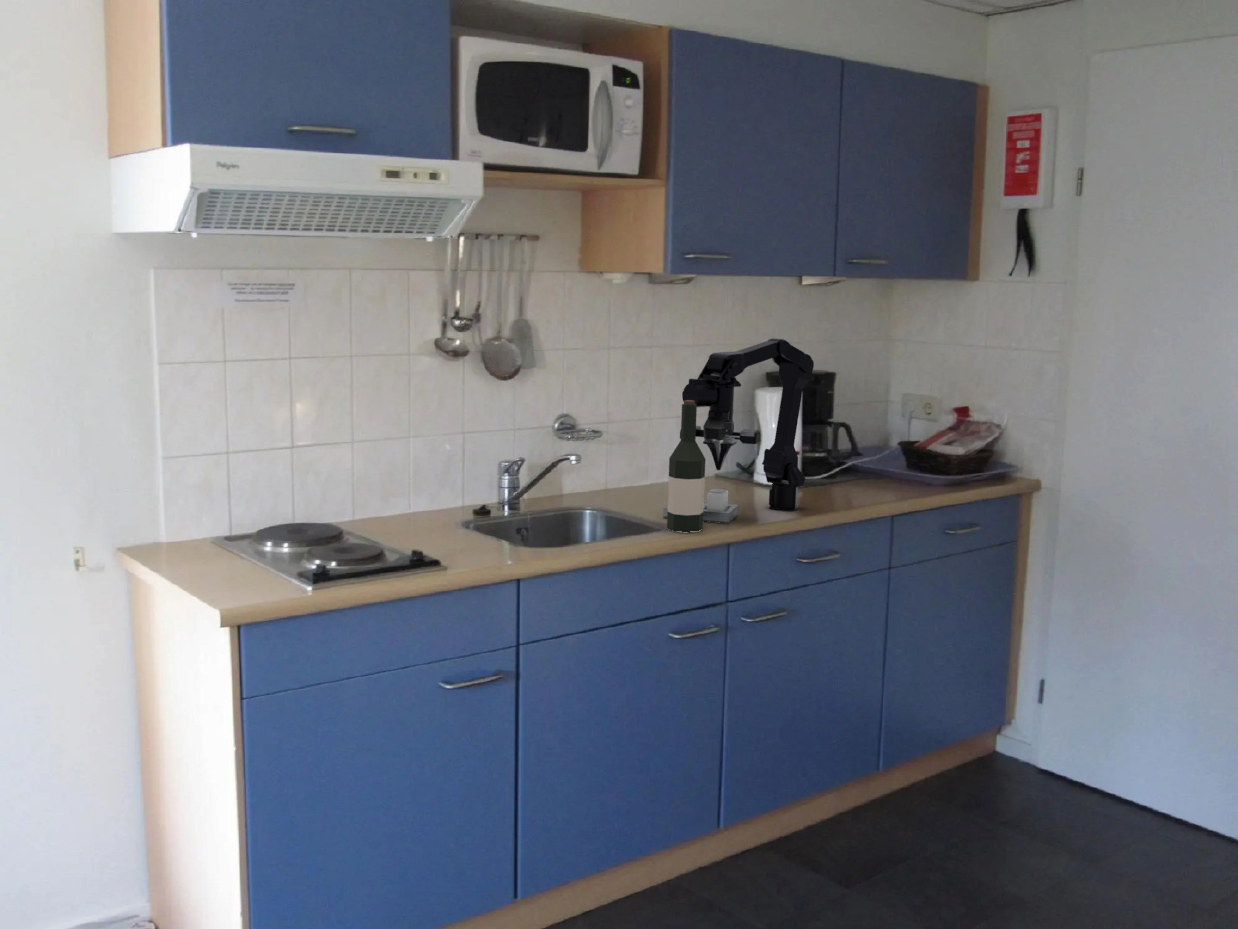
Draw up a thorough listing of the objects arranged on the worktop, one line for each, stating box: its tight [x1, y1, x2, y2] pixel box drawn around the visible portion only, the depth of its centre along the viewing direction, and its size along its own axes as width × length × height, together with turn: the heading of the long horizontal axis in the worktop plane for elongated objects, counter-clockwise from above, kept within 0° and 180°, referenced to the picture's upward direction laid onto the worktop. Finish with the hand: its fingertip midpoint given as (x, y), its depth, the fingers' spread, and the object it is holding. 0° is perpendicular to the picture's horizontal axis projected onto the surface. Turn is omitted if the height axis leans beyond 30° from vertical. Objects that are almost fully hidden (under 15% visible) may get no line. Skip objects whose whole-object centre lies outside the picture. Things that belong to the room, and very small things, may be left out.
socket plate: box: [662, 501, 739, 524], centre depth 297 cm, size 16×11×3 cm
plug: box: [706, 488, 729, 511], centre depth 296 cm, size 4×5×6 cm
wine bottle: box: [666, 400, 706, 532], centre depth 280 cm, size 8×8×30 cm
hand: (718, 470), depth 294 cm, fingers closed
